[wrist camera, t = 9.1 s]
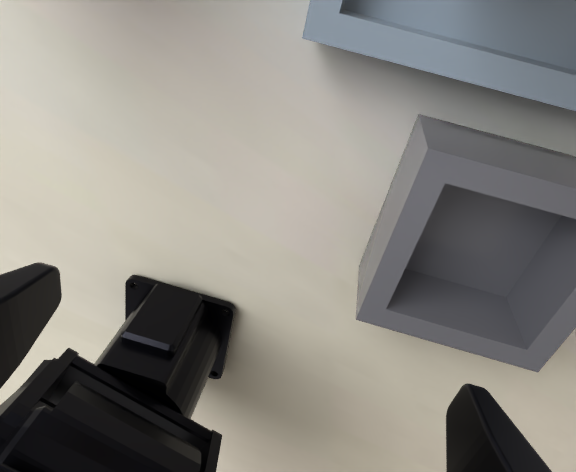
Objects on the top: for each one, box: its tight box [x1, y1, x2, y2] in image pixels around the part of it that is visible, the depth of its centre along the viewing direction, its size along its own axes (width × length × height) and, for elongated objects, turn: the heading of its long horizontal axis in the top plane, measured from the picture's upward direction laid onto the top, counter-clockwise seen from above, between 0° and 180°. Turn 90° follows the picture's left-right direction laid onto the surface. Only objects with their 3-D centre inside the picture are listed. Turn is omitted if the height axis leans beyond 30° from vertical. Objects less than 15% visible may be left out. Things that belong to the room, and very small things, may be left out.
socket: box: [356, 114, 576, 372], centre depth 18 cm, size 8×8×4 cm
